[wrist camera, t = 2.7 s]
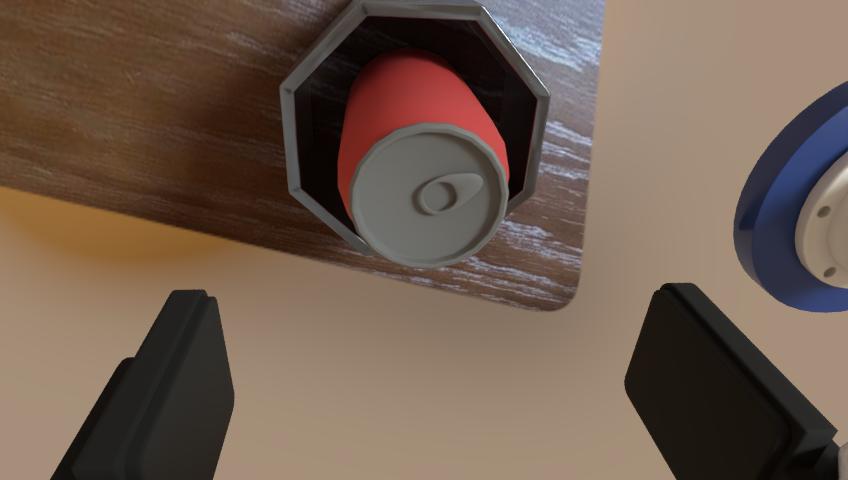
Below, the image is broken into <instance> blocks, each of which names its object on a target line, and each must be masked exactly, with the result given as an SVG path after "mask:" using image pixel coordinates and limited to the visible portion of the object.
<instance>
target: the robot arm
mask: <svg viewBox="0 0 848 480" xmlns="http://www.w3.org/2000/svg"><path fill="white" fill-rule="evenodd" d="M795 247H796V253H797V255H798V257H799V260H800V262H801V264H802V265H803V266H804V267H805V268H806V269H807V270H808V272H810V273H811V274H812V275H814V276H815V277H816V278H818V279H819V280H821V281H822V282H824V283H827V284H829V285H831V286H834V287H840V288H845V289H848V151H847V152H846V153H845V154H844V155H843V156H841V157H840V158H839V159H838V160H837V161H835V162H834V164H833V165H832V166H831V167H830V168H829V169H828V170H827V171H826V172H825V173H824V174H823V175H822V177H821V178H820V179H819V181H818V182H817V183H816V185H815V186H814V188H813V189H812V190H811V192H810V193H809V195H808V197H807V199H806V201H805V203H804V205H803V207H802V209H801V212H800V215H799V218H798V221H797V224H796V231H795ZM624 383H625V384H624V385H625V390H626V393H627V395H628V397H629V399H630V401H631V402H632V404H633V406H634V408H635V409H636V411H637V413H638V414H639V416H640V418H641V420H642V421H643V423H644V425H645V426H646V428H647V430H648V432H649V433H650V435H651V437H652V439H653V440H654V442H655V444H656V445H657V447H658V449H659V450H660V452H661V454H662V456H663V457H664V459H665V461H666V462H667V464H668V466H669V468H670V469H671V471H672V473H673V475H674V476H675V478H676V480H848V442H847V443H846V444H844V445H843V446H842V447H839V446H838V445H837V444H836V443H835V442H834V441H833V440H832V439H833V437H834V436H835V434H836V433H837V431H838V430H837V429H836V428H835V427H834V426H833V425H832V424H831V423H830V422H829V421H828V420H827V419H826V418H825V417H824V416H823V415H822V414H821V413H820V412H819V411H818V410H817V409H816V408H815V407H814V406H813V405H812V404H811V403H810V402H809V400H807V398H806V397H805V396H804V395H803V394H802V393H801V392H800V391H799V390H798V389H797V388H796V387H795V386H794V385H793V384H792V383H791V382H790V381H789V380H788V379H787V378H786V377H785V376H784V375H783V374H782V373H781V372H780V371H779V370H778V369H777V368H776V367H775V366H774V365H773V364H772V363H771V362H770V361H769V360H768V358H767V357H766V356H765V355H763V353H762V352H761V351H760V350H759V349H758V348H757V347H756V346H755V345H754V344H753V343H752V342H751V341H750V340H749V339H748V338H747V337H746V336H745V335H744V334H743V333H742V332H741V331H740V330H739V329H738V328H737V327H736V326H735V325H734V324H733V323H732V322H731V321H730V319H729V318H728V317H726V315H724V314H723V312H722V311H720V309H719V308H718V307H717V306H716V305H715V304H714V303H713V302H712V301H711V300H710V299H709V298H708V297H707V296H706V295H705V294H704V293H703V292H702V291H701V290H700V289H699V288H698V287H697V286H696V285H695V284H693V283H666V284H664V285H662V287H661V288H660V290H656V291H655V292H654V294H653V296H652V299H651V302H650V305H649V308H648V311H647V314H646V317H645V320H644V323H643V326H642V329H641V332H640V335H639V338H638V341H637V343H636V346H635V349H634V352H633V355H632V358H631V361H630V364H629V367H628V370H627V373H626V376H625V380H624ZM233 407H234V389H233V385H232V378H231V373H230V368H229V362H228V357H227V352H226V346H225V341H224V336H223V330H222V325H221V319H220V314H219V309H218V304H217V300H216V298H215V297H208V296H207V293H206V291H205V290H174V291H172V293H171V294H170V295H169V297H168V299H167V301H166V302H165V305H164V306H163V308H162V310H161V311H160V313H159V315H158V317H157V318H156V320H155V322H154V324H153V325H152V327H151V329H150V331H149V333H148V334H147V336H146V338H145V340H144V341H143V343H142V345H141V346H140V348H139V350H138V352H137V354H136V355H135V357H130V358H126V359H124V360H122V361H121V363H120V364H119V365H118V367H117V368H116V370H115V372H114V373H113V375H112V377H111V378H110V380H109V382H108V383H107V385H106V387H105V388H104V390H103V392H102V394H101V395H100V397H99V398H98V400H97V402H96V404H95V405H94V407H93V408H92V410H91V412H90V414H89V415H88V417H87V419H86V420H85V422H84V423H83V425H82V427H81V429H80V430H79V432H78V434H77V435H76V437H75V439H74V440H73V442H72V444H71V445H70V447H69V449H68V450H67V452H66V454H65V455H64V457H63V459H62V460H61V462H60V464H59V465H58V467H57V469H56V471H55V472H54V474H53V475H52V477H51V479H50V480H213V477H214V473H215V470H216V466H217V463H218V460H219V456H220V453H221V449H222V446H223V443H224V439H225V435H226V432H227V429H228V425H229V422H230V418H231V415H232V411H233Z"/></svg>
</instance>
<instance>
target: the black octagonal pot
mask: <svg viewBox="0 0 848 480" xmlns="http://www.w3.org/2000/svg"><path fill="white" fill-rule="evenodd" d="M367 16H374V17H397V18H420V19H443V20H466V22H467V23H468V24H469V25H470V27H471V28H472V29H473V30H474V32H475V33H476V34H477V35H478V37H479V38H480V39H481V40H482V42H483V43H484V44H485V45H486V47H487V48H488V49H489V50H490V52H491V53H492V54H493V55H494V57H495V58H496V59H497V61H498V62H499V63H500V64H501V66H502V67H503V68H504V69H505V71H506V76H505V84H504V92H503V100H502V108H501V115H500V123H499V131H498V132H499V134H500V136H501V138H502V139H503V141H504V143H505V148H506V154H507V160H508V166H509V180H508V190H509V196H508V202H507V207H506V213H505V216H504V218H505V217H507V216H508V215H509V214H510V213H512V212H513V211H514V210H515V209H517V208H518V207H519V206H520V205H521V204H523V203H524V202H525V201H526V200H528V199H529V198H530V197H531V196H533V194H534V191H535V185H536V179H537V174H538V168H539V162H540V156H541V150H542V145H543V139H544V133H545V127H546V121H547V115H548V110H549V104H550V98H551V94H550V92H549V90H548V89H547V88H546V86H545V85H544V84H543V82H542V81H541V80H540V78H539V77H538V76H537V75H536V73H535V72H534V71H533V69H532V68H531V67H530V65H529V64H528V63H527V62H526V60H525V59H524V58H523V56H522V55H521V54H520V52H519V51H518V50H517V48H516V47H515V46H514V45H513V43H512V42H511V41H510V39H509V38H508V37H507V35H506V34H505V33H504V31H503V30H502V29H501V28H500V26H499V25H498V24H497V22H496V21H495V20H494V18H493V17H492V16H491V15H490V13H489V12H488V11H487V9H486V8H485V7H484V6H483V5H481V4H479V3H477V2H475V1H473V0H352V1H351V2H350V3H349V4H348V5H347V6H346V7H345V8H344V9H343V10H342V11H341V13H340V14H339V15H338V16H337V17H336V18H335V19H334V20H333V21H332V22H331V23H330V24H329V25H328V26H327V27H326V29H325V30H324V31H323V32H322V33H321V34H320V35H319V36H318V37H317V38H316V39H315V40H314V41H313V42H312V43H311V45H310V46H309V47H308V48H307V49H306V50H305V51H304V52H303V53H302V54H301V55H300V56H299V57H298V58H297V60H296V61H295V63H294V64H293V66H292V67H291V69H290V70H289V72H288V73H287V75H286V76H285V78H284V79H283V81H282V82H281V84H280V86H279V94H280V105H281V116H282V127H283V138H284V149H285V160H286V171H287V182H288V191H289V194H290V195H292V196H293V197H294V198H295V199H296V200H298V201H299V202H300V203H301V204H302V205H304V206H305V207H306V208H307V209H308V210H310V211H311V212H312V213H313V214H314V215H316V216H317V217H318V218H319V219H320V220H322V221H323V222H324V223H325V224H326V225H328V226H329V227H330V228H331V229H332V230H334V231H335V232H336V233H337V234H338V235H340V236H341V237H342V238H343V239H344V240H346V241H347V242H348V243H349V244H350V245H352V246H353V247H354V248H355V249H356V250H358V251H359V252H360V253H361V254H362V255H365V256H372V255H378V254H377V253H375V252H374V251H372V250H371V249H370V248H369V247H368V246H367V244H366V243H365V242H364V241H363V239H362V238H361V237H360V236H359V234H358V233H357V232H356V229H355V226H354V223H353V221H352V220H351V219H350V217H349V216H348V213H347V211H346V208H345V205H344V202H343V200H342V197H341V194H340V191H339V188H338V166H337V165H335V164H334V163H333V162H332V161H331V160H330V159H329V158H328V157H327V156H326V155H324V154H323V153H322V152H321V151H320V150H319V149H318V148H317V147H316V146H315V145H314V141H313V124H312V108H311V91H310V75H311V74H312V73H313V72H314V71H315V70H316V69H317V68H318V67H319V66H320V65H321V64H322V63H323V62H324V61H325V60H326V59H327V58H328V57H329V56H330V55H331V54H332V53H333V52H334V50H335V49H336V48H337V47H338V46H339V45H340V44H341V43H342V42H343V41H344V40H345V39H346V38H347V37H348V36H349V35H350V34H351V33H352V32H353V31H354V30H355V29H356V28H357V27H358V25H359V24H360V23H361V22H362V21H363V20H364V19H365V18H366V17H367ZM504 218H503V219H504Z"/></svg>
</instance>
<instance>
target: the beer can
mask: <svg viewBox="0 0 848 480" xmlns="http://www.w3.org/2000/svg"><path fill="white" fill-rule="evenodd" d="M508 180H509V166H508V160H507V154H506V148H505V143H504V141H503V139H502V138H501V136H500V134H499V132H498V130H497V128H496V127H495V125H494V123H493V121H492V120H491V118H490V117H489V115H488V114H487V113H486V111H485V110H484V108H483V107H482V106H481V104H480V103H479V101H478V100H477V98H476V97H475V96H474V94H473V93H472V91H471V90H470V89H469V87H468V86H467V84H466V83H465V81H464V80H463V79H462V77H461V76H460V74H459V73H458V72H457V70H456V69H455V68H454V67H453V66H451V65H450V64H449V63H448V62H447V61H446V60H445V59H444V58H443V57H441V56H439V55H437V54H434V53H432V52H430V51H427V50H425V49H420V48H406V47H402V48H398V49H394V50H391V51H387V52H383V53H382V54H380V55H379V56H377V57H376V58H374V59H373V60H371V61H370V62H368V63H367V64H366V65H365V66H364V67H363V69H362V70H361V71H360V73H359V74H358V75H357V77H356V78H355V79H354V81H353V84H352V87H351V90H350V93H349V96H348V100H347V106H346V112H345V118H344V125H343V131H342V137H341V144H340V150H339V156H338V188H339V191H340V194H341V197H342V200H343V202H344V205H345V208H346V211H347V213H348V216H349V217H350V219H351V220H352V221H353V223H354V226H355V229H356V232H357V233H358V234H359V236H360V237H361V238H362V239H363V241H364V242H365V243H366V244H367V246H368V247H369V248H370V249H371V250H372V251H374V252H375V253H377V254H378V255H380V256H381V257H383V258H384V259H386V260H387V261H389V262H392V263H395V264H398V265H402V266H405V267H408V268H415V269H436V268H440V267H444V266H448V265H452V264H456V263H459V262H461V261H462V260H464V259H466V258H468V257H470V256H471V255H473V254H475V253H477V252H478V251H479V250H480V249H481V248H482V247H483V246H484V245H485V244H486V243H487V242H488V241H489V240H490V239H491V238H492V237H493V236H494V235H495V233H496V231H497V229H498V228H499V226H500V224H501V222H502V220H503V218H504V216H505V213H506V207H507V202H508V196H509V190H508Z"/></svg>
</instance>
